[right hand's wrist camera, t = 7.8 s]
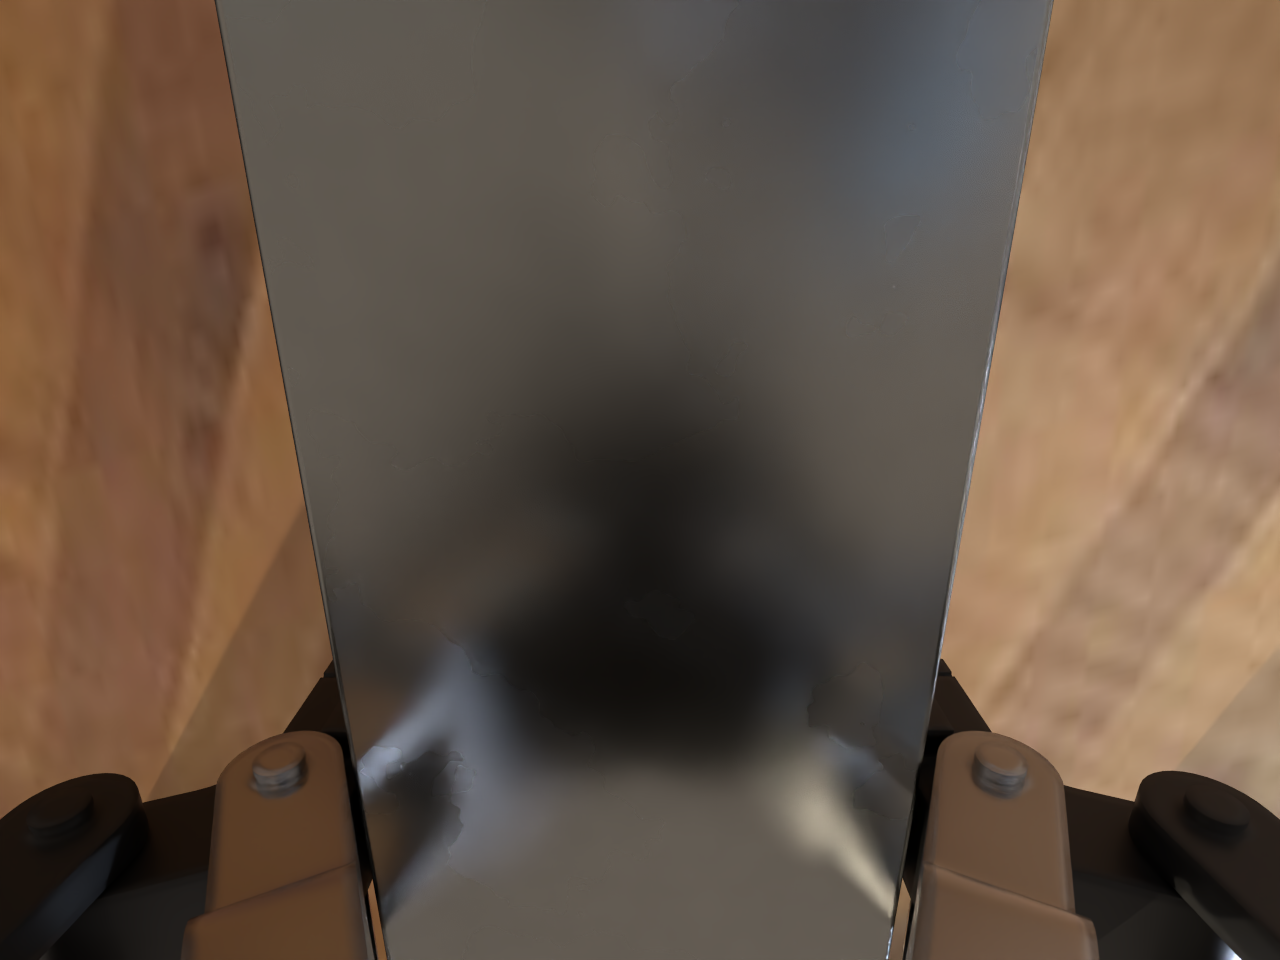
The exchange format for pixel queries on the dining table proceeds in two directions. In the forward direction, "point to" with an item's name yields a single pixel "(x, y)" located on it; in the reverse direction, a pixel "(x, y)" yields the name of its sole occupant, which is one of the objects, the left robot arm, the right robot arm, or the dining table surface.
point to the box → (635, 439)
